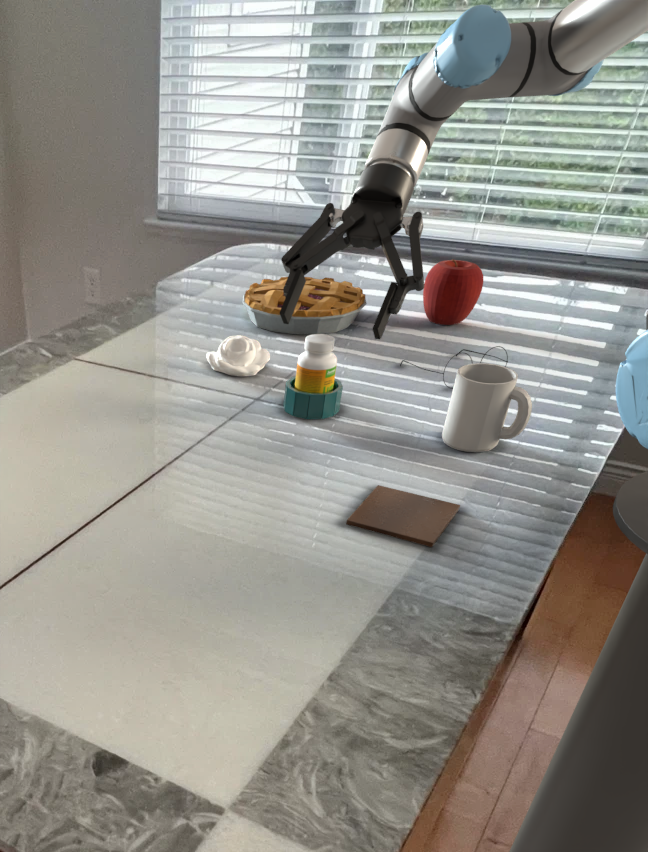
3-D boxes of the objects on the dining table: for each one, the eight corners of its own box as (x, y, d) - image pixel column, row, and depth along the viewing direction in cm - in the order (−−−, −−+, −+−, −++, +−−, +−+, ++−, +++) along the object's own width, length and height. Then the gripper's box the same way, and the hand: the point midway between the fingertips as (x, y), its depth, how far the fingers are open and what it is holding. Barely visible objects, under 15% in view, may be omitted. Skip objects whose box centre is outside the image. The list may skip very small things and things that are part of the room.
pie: (229, 332, 147) (231, 302, 143) (253, 296, 162) (255, 267, 159) (357, 342, 141) (362, 310, 138) (369, 303, 156) (374, 274, 153)
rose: (268, 326, 135) (275, 347, 128) (265, 354, 138) (272, 376, 131) (206, 327, 136) (209, 348, 129) (204, 356, 139) (208, 378, 132)
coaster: (459, 509, 99) (460, 504, 98) (432, 547, 93) (433, 542, 92) (377, 489, 103) (377, 484, 102) (345, 524, 97) (346, 519, 96)
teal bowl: (346, 404, 122) (350, 380, 120) (325, 423, 118) (329, 398, 115) (297, 394, 126) (300, 370, 123) (274, 412, 121) (277, 388, 119)
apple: (471, 315, 150) (486, 253, 143) (475, 333, 143) (491, 268, 136) (416, 313, 152) (428, 251, 145) (417, 330, 145) (430, 266, 138)
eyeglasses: (393, 367, 133) (400, 333, 129) (461, 355, 135) (469, 322, 132) (436, 392, 125) (445, 357, 121) (507, 379, 127) (517, 344, 124)
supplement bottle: (324, 418, 119) (335, 347, 112) (287, 412, 121) (295, 342, 114) (333, 404, 123) (344, 334, 116) (297, 399, 124) (306, 330, 118)
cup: (450, 426, 116) (467, 359, 110) (526, 441, 111) (547, 373, 105) (433, 445, 111) (450, 377, 105) (511, 462, 107) (533, 392, 101)
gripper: (481, 206, 113) (420, 355, 114) (309, 190, 124) (254, 326, 125) (480, 166, 106) (415, 325, 108) (298, 153, 117) (240, 298, 118)
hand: (328, 326), depth 116 cm, fingers open, 13 cm apart
